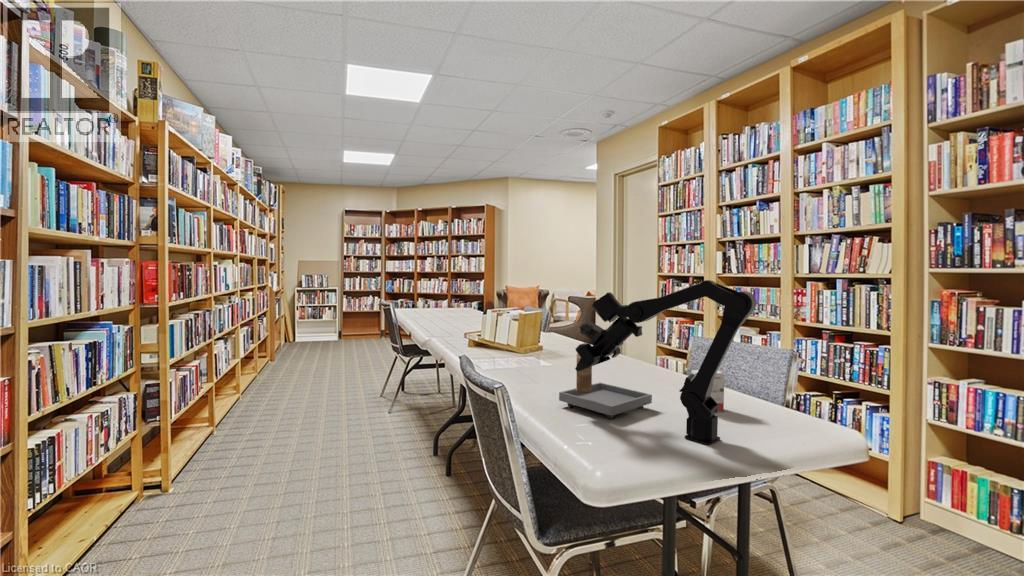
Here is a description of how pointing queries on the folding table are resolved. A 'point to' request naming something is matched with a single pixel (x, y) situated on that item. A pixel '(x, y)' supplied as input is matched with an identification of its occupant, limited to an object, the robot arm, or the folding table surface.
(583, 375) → the walnut part
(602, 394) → the parts tray
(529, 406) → the folding table surface
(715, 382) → the ink box
